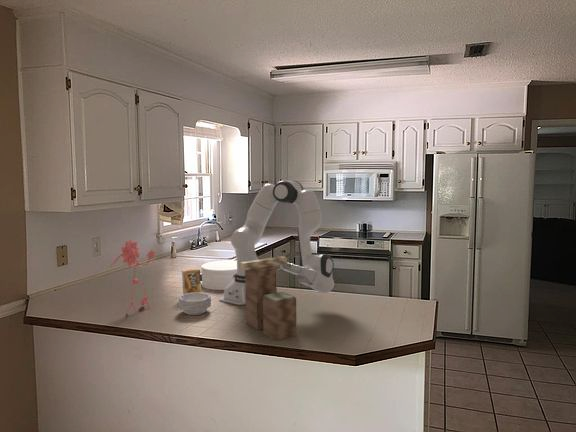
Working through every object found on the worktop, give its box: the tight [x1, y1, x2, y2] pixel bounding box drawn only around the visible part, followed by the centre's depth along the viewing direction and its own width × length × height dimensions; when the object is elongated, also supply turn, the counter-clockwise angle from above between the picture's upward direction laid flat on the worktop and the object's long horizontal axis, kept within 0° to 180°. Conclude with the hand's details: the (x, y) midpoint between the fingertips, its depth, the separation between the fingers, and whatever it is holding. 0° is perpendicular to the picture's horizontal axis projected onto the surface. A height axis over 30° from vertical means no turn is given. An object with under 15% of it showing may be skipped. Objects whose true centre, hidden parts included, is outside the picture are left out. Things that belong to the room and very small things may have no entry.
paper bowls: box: [178, 292, 212, 316], centre depth 229 cm, size 15×15×8 cm
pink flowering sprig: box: [110, 239, 160, 315], centre depth 232 cm, size 15×26×35 cm, turn 156°
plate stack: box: [200, 259, 237, 291], centre depth 282 cm, size 28×28×12 cm
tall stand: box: [245, 266, 277, 331], centre depth 209 cm, size 10×10×26 cm
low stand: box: [263, 291, 298, 341], centre depth 197 cm, size 10×10×17 cm
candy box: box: [181, 268, 202, 295], centre depth 252 cm, size 9×4×15 cm, turn 119°
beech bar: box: [240, 255, 288, 270], centre depth 208 cm, size 22×3×3 cm, turn 124°
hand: (284, 263), depth 215 cm, fingers open, 8 cm apart
